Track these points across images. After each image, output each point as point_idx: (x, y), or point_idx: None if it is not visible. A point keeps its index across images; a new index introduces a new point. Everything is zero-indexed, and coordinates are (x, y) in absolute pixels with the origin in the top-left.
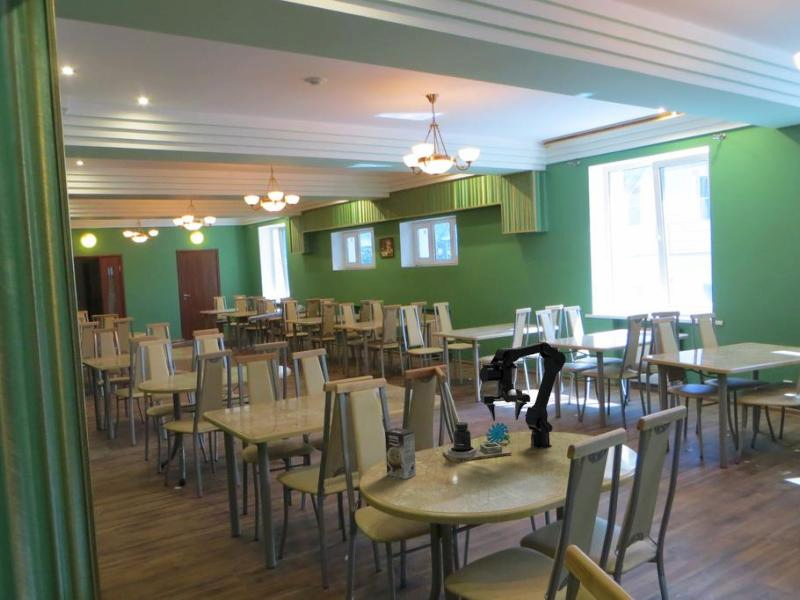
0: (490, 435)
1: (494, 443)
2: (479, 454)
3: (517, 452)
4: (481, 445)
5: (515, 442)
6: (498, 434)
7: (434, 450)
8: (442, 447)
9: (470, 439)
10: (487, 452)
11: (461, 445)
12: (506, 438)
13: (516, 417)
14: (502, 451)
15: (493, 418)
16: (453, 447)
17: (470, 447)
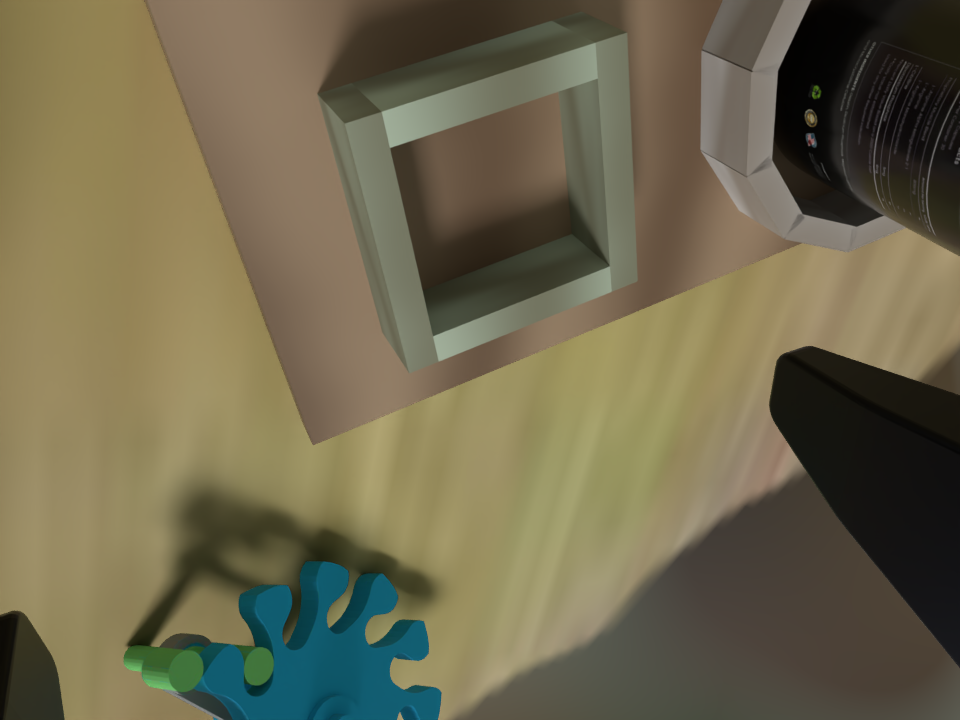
0: (396, 686)
1: (429, 330)
2: None
3: (14, 146)
4: (634, 225)
5: None
6: (309, 695)
7: (941, 312)
8: None
9: (956, 71)
10: (572, 19)
11: None
12: (192, 647)
13: (19, 693)
14: (313, 90)
15: (885, 374)
16: None
17: (859, 26)
